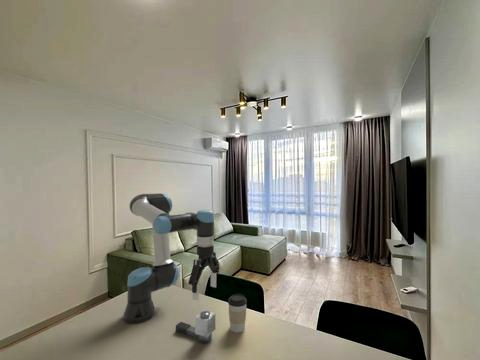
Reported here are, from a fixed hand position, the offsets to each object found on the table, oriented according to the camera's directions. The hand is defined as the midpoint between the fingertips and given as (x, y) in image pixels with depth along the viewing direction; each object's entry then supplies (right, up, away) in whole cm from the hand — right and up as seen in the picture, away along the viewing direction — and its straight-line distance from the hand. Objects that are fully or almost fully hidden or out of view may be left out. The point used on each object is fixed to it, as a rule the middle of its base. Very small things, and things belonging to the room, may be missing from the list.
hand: (205, 292), depth 101 cm
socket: (0, -17, -1) cm, 17 cm away
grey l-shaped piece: (-5, -20, +2) cm, 21 cm away
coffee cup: (+15, -21, +7) cm, 26 cm away
